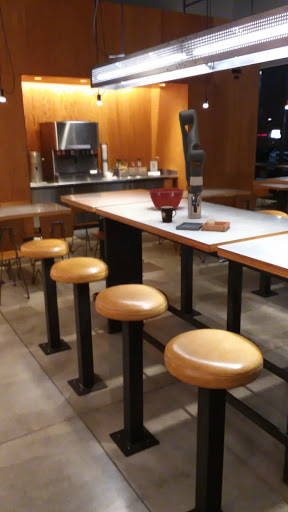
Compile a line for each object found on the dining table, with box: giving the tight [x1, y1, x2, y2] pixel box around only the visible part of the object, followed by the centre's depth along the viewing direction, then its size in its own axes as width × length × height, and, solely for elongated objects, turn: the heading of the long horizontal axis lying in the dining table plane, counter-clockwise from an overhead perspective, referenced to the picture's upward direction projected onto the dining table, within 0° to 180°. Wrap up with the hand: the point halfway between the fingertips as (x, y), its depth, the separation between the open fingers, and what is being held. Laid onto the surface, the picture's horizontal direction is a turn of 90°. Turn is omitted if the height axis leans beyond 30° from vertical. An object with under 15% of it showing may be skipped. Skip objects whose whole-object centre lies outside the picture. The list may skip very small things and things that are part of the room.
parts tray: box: [175, 221, 205, 232], centre depth 263 cm, size 16×14×2 cm
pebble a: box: [206, 219, 216, 225], centre depth 258 cm, size 4×4×4 cm
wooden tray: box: [201, 220, 231, 233], centre depth 257 cm, size 14×14×4 cm
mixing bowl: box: [148, 188, 185, 211], centre depth 338 cm, size 28×28×16 cm
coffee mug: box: [160, 206, 177, 224], centre depth 282 cm, size 12×9×10 cm
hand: (196, 211), depth 260 cm, fingers closed on pebble, 4 cm apart
